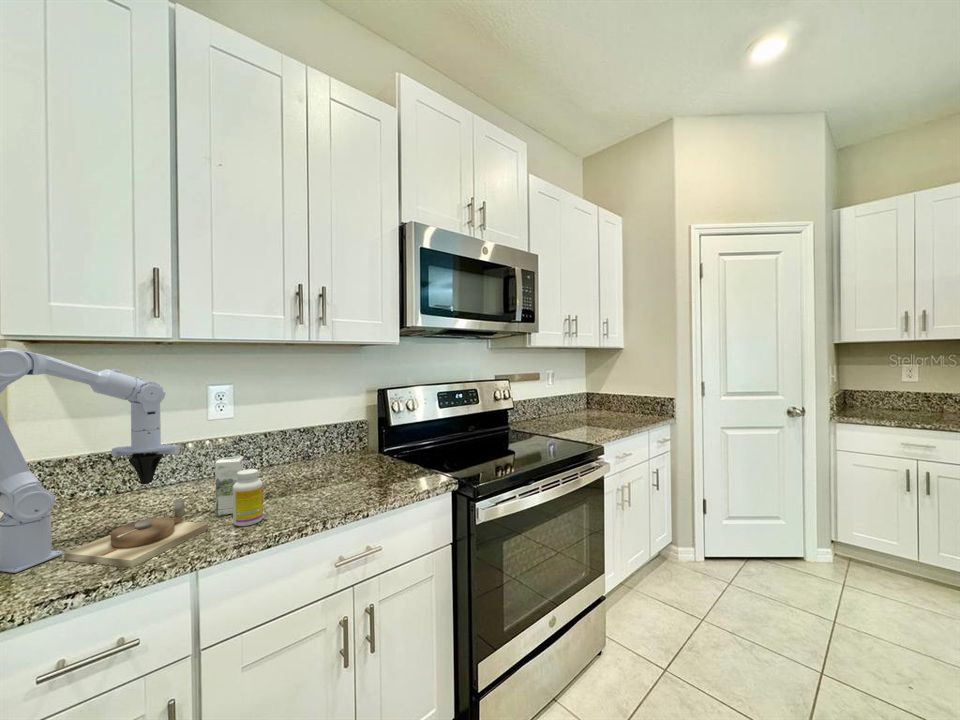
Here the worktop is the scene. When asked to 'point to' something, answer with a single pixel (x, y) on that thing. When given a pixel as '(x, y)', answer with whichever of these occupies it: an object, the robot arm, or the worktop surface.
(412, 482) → the worktop surface
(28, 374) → the robot arm
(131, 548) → the wooden cutting board
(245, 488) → the supplement bottle
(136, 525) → the crank dial
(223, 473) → the syrup box
